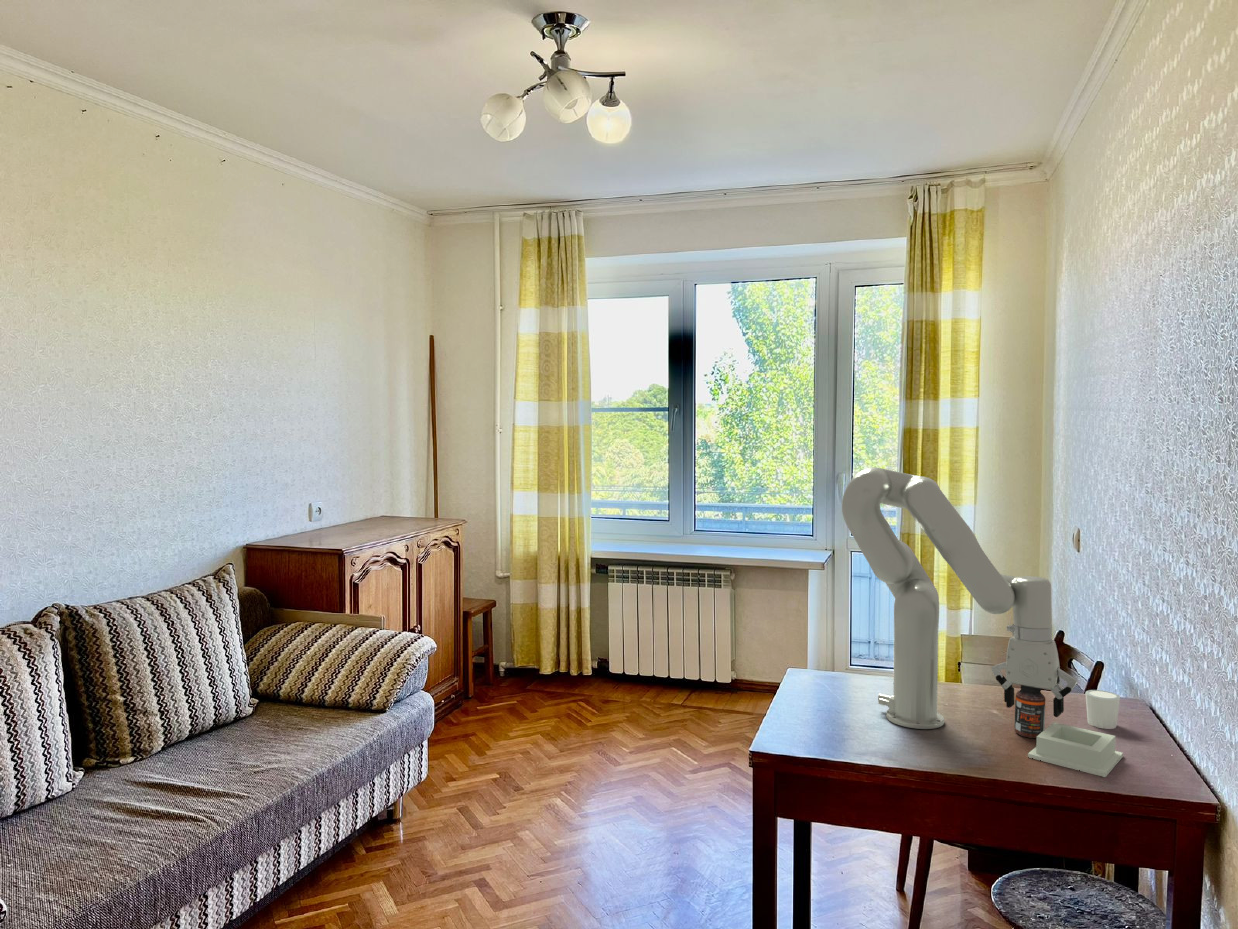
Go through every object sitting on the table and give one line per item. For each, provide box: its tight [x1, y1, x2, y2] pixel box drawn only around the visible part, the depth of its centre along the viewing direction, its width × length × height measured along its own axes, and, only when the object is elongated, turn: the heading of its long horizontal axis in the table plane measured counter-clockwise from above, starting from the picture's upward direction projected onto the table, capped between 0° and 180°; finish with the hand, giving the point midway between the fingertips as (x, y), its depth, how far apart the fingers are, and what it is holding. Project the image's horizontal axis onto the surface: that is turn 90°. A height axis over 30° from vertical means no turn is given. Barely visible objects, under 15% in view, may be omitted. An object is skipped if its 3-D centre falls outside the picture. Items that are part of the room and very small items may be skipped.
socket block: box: [1027, 722, 1124, 778], centre depth 168 cm, size 14×14×4 cm
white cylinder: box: [1084, 689, 1121, 730], centre depth 186 cm, size 7×7×7 cm
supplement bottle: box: [1014, 685, 1046, 739], centre depth 180 cm, size 6×6×11 cm
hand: (1033, 710), depth 180 cm, fingers open, 9 cm apart
